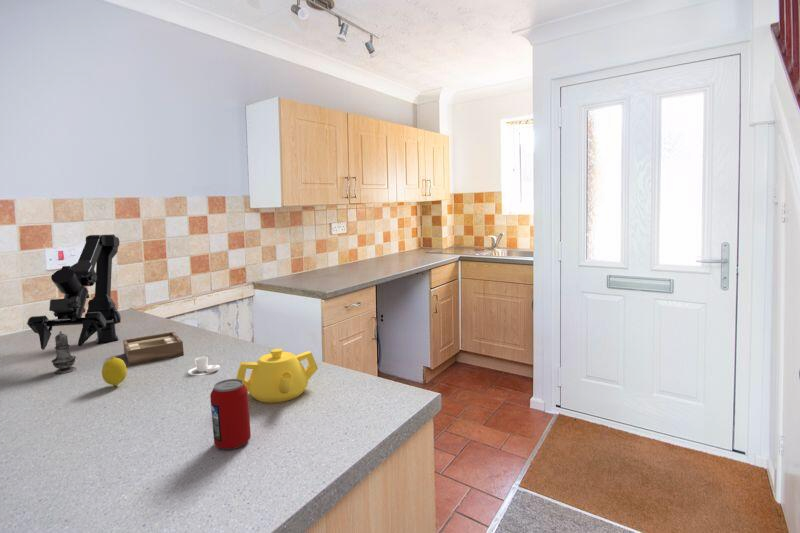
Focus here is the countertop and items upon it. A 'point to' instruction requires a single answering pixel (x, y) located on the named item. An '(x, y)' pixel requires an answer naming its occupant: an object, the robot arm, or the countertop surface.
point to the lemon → (114, 371)
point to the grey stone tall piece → (63, 355)
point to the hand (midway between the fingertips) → (61, 347)
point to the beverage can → (230, 414)
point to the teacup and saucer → (203, 366)
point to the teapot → (277, 375)
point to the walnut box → (152, 348)
